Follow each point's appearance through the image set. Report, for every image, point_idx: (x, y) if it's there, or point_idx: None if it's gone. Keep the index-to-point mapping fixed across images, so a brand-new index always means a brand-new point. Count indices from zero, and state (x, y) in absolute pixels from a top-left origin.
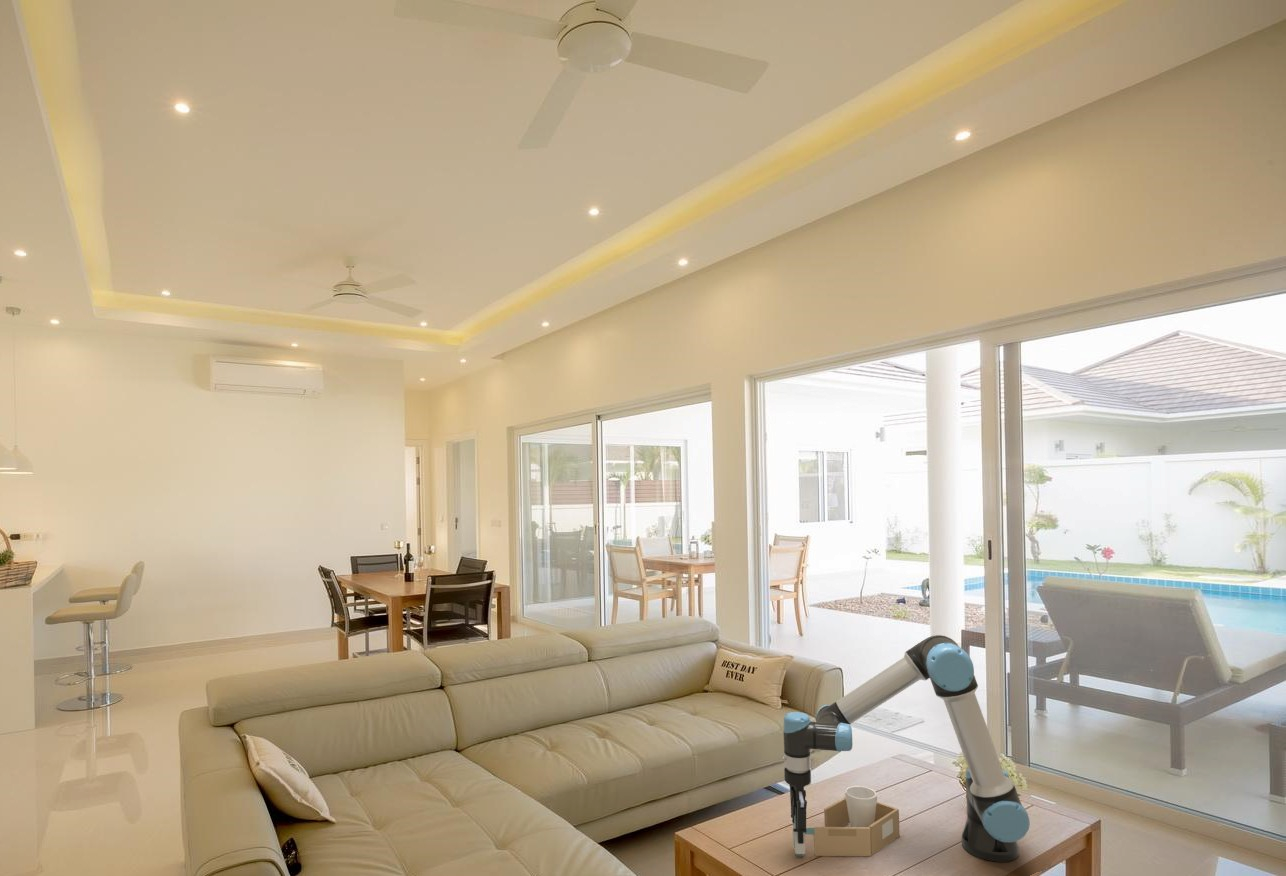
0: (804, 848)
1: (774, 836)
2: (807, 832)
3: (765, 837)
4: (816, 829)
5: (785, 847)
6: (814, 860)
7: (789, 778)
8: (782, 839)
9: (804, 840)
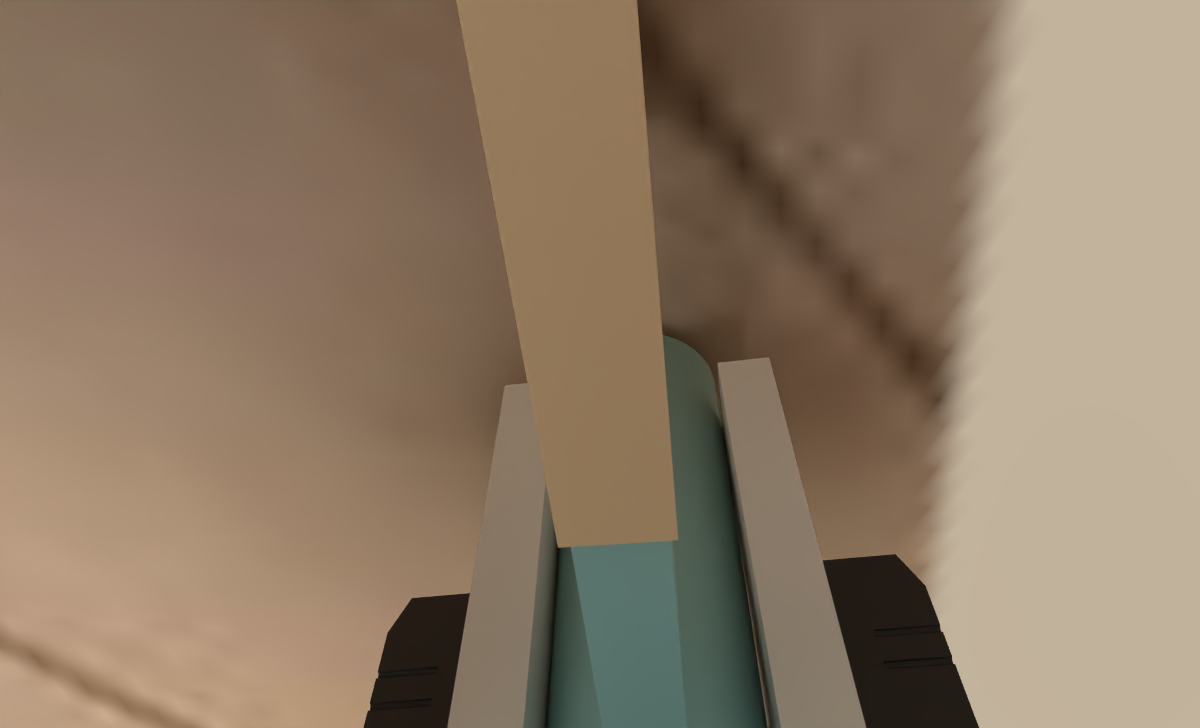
0: (785, 430)
1: (145, 634)
2: (677, 598)
3: (220, 711)
4: (667, 437)
5: (418, 537)
6: (798, 148)
7: None
8: (188, 558)
9: (818, 555)
